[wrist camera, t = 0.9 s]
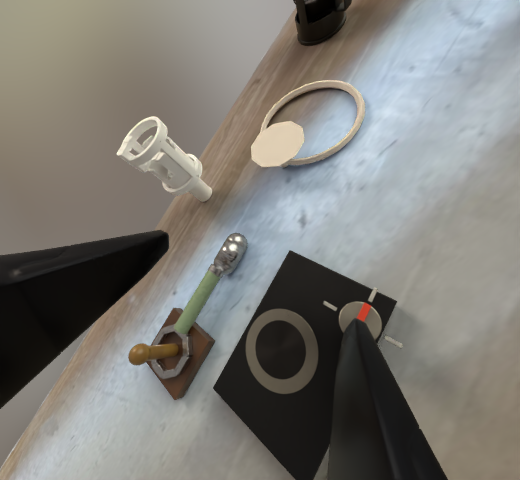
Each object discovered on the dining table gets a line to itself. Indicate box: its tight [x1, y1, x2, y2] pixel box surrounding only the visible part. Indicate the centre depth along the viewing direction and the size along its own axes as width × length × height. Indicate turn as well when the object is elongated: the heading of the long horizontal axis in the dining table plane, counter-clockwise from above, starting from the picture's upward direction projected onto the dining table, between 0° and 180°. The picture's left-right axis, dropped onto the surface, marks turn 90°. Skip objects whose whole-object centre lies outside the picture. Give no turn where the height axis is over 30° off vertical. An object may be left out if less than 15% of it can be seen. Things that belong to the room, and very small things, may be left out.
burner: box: [246, 309, 318, 394], centre depth 23 cm, size 8×8×1 cm
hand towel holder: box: [251, 80, 365, 167], centre depth 33 cm, size 17×4×20 cm
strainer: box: [117, 117, 212, 202], centre depth 33 cm, size 7×7×15 cm
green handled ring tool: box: [151, 233, 248, 379], centre depth 30 cm, size 21×6×4 cm, turn 147°
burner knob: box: [339, 302, 382, 340], centre depth 19 cm, size 3×3×4 cm
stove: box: [213, 251, 403, 480], centre depth 23 cm, size 18×14×3 cm
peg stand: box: [128, 308, 215, 400], centre depth 27 cm, size 8×8×8 cm
